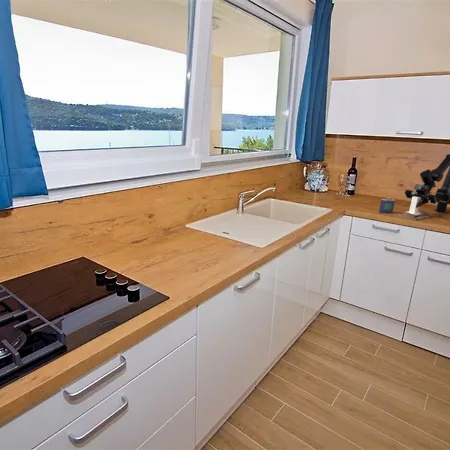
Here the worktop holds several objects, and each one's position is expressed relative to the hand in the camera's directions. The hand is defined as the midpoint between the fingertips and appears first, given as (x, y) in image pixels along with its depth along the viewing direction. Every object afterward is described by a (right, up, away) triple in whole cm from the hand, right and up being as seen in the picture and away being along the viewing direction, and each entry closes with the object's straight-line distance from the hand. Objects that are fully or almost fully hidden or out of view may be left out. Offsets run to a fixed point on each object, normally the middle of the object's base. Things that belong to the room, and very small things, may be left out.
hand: (413, 206), depth 210 cm
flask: (-12, -4, +11) cm, 16 cm away
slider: (+1, -5, +2) cm, 5 cm away
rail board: (+4, -6, +5) cm, 9 cm away
